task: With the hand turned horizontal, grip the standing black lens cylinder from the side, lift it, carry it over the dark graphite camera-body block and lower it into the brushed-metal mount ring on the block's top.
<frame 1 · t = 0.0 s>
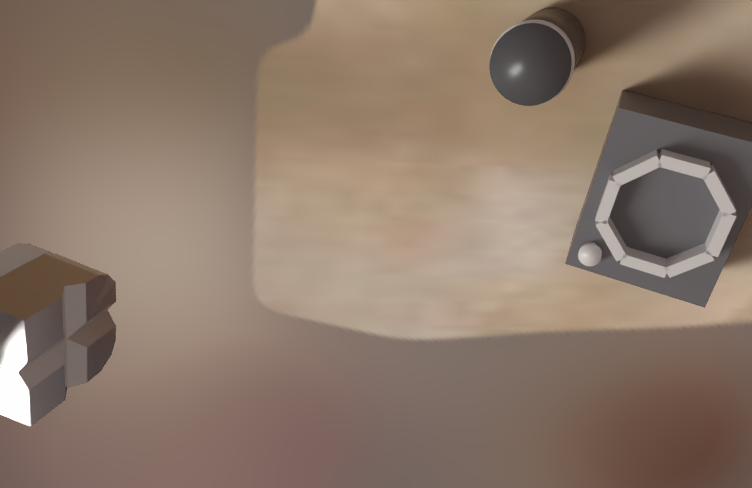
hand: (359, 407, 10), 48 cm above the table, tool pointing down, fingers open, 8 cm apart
lens: (550, 43, 53), on the table
camera body block: (662, 183, 54), on the table
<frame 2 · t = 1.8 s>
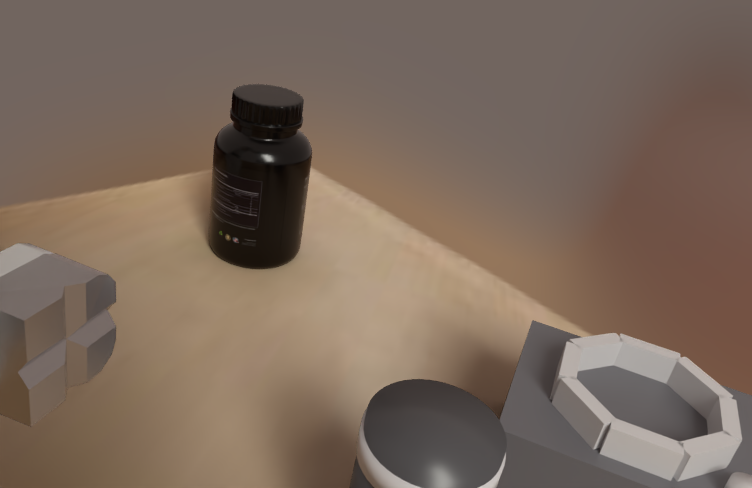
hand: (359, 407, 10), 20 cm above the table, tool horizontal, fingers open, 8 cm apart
supplement bottle: (253, 250, 54), on the table
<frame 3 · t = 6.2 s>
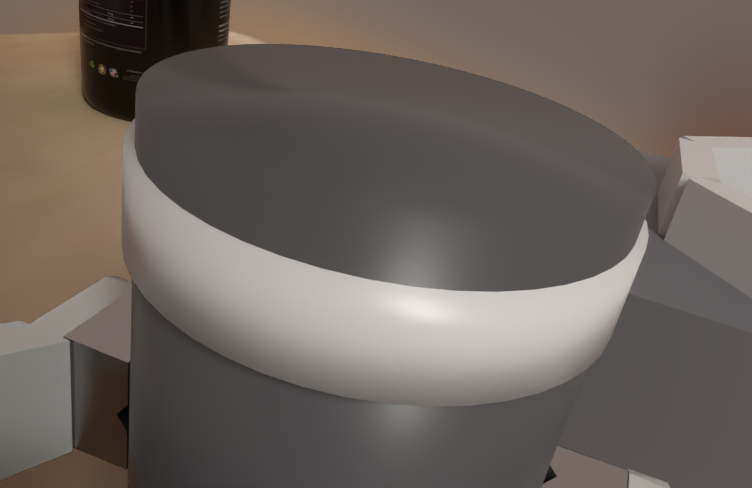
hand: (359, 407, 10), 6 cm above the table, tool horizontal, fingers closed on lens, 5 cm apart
supplement bottle: (153, 107, 36), on the table
camera body block: (734, 454, 19), on the table
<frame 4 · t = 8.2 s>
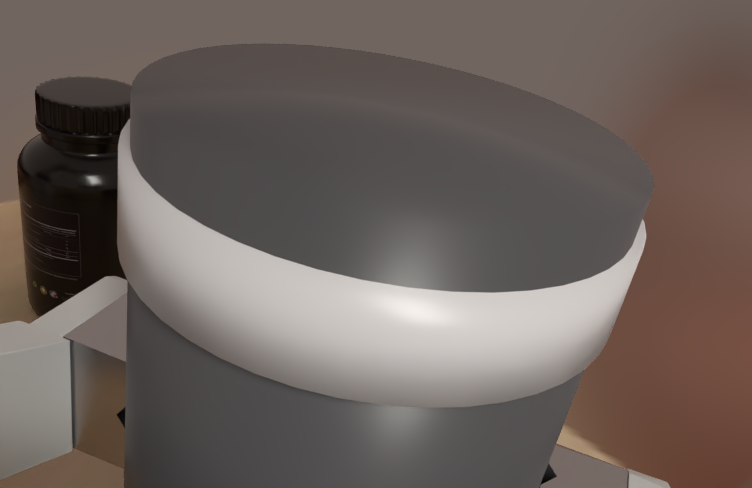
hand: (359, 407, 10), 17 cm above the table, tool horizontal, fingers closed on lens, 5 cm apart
supplement bottle: (95, 302, 40), on the table
when the fingers open (12 cm above the table, at t = 10.3 s): lens stays where it is, resting on camera body block.
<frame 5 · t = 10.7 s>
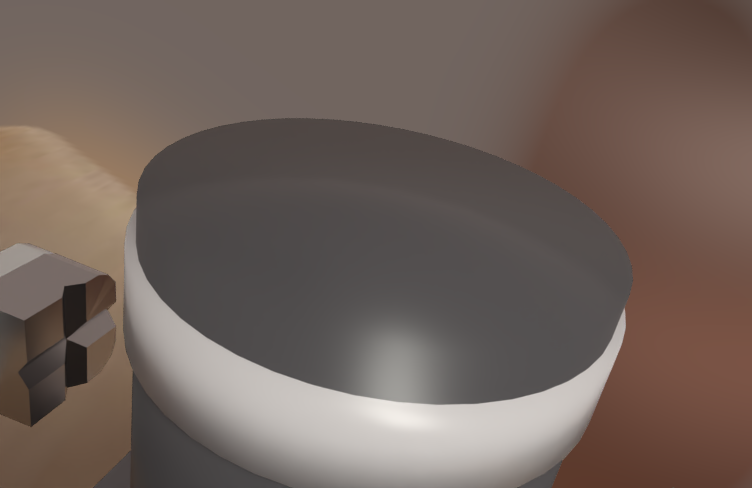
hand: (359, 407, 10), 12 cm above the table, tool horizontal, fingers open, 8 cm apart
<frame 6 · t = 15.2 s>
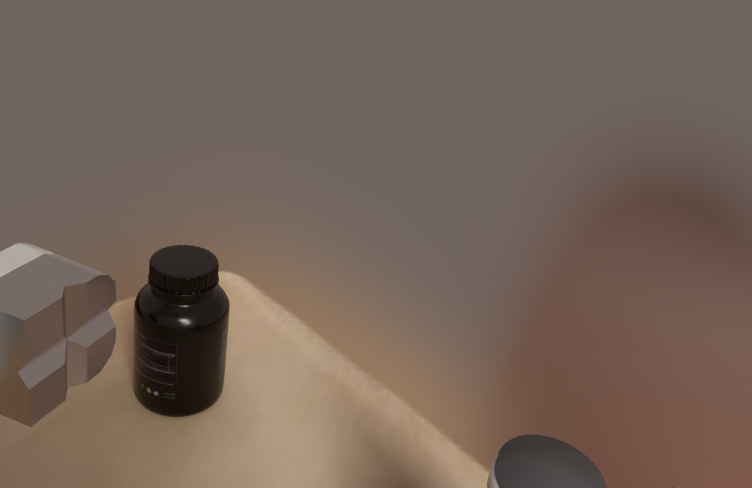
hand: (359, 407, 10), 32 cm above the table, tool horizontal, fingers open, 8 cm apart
supplement bottle: (178, 392, 56), on the table
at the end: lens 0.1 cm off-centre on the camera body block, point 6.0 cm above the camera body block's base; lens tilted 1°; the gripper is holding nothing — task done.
